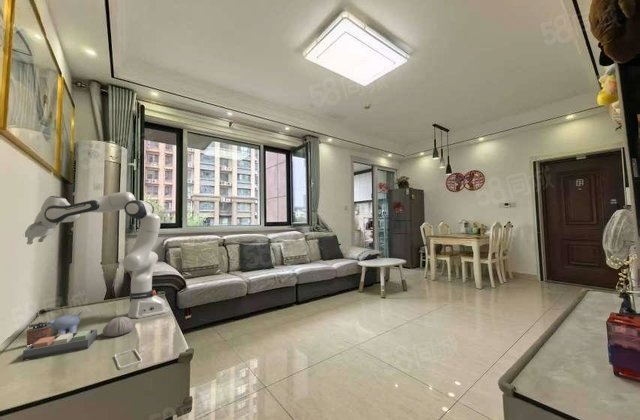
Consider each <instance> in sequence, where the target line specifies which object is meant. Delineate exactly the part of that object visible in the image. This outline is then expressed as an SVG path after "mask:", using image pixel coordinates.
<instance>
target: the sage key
mask: <svg viewBox="0 0 640 420" xmlns="http://www.w3.org/2000/svg"><path fill="white" fill-rule="evenodd" d="M91 330H92V329H91ZM91 330H85V331H82V332H79V331H77V332H78V333H77V334H76V335H75V336H74V337H73V341H79V340H84V339H87V337H88V336H89V335H90V334H91Z"/></svg>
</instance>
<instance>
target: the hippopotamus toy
mask: <svg viewBox="0 0 640 420" xmlns="http://www.w3.org/2000/svg"><path fill="white" fill-rule="evenodd" d="M82 313H83V310H81V311H80V312H79V313H78V314H65V315H62V316H59V317H57V318H55V319H51V320H49V321H48V324H47V325H51V329H50V330H52V329H57V334H56V335H55V336H57V335H61V334H70V333H74V332H77V329H78V328H79V326H78V325H79V324H80V322H81V318H80V316H81V315H82ZM44 326H45V325H44ZM67 329H68V330H67Z"/></svg>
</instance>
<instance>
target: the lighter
mask: <svg viewBox="0 0 640 420" xmlns="http://www.w3.org/2000/svg"><path fill="white" fill-rule="evenodd" d="M48 322H49V321H44V322H43V321H39V322H35V323H31V324H29V325H28V328H30V329H27V330H26V345H30V344H33V343H35V342H36V341H37V340H39V339H40V338H46V337H51V330H52V329H51V325H47V324H48ZM44 325H45V326H44Z"/></svg>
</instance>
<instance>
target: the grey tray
mask: <svg viewBox="0 0 640 420" xmlns="http://www.w3.org/2000/svg"><path fill="white" fill-rule="evenodd" d="M78 332H83V331H81V330H80V331H76V332H74V333H73V337H74V336H75V335H76V334H77V333H78ZM56 335H57V334H56ZM56 335H54V336H55V339H56V338H58V337H59V336H60V335H57V336H56ZM61 335H64V334H61ZM97 338H98V328H96V329H91V334H90V335H89V336H88V337H87V339H84V340H79V341H73V338H72V339H71V340H70V341H69V342H67V343H62V344H56V345H54V341H53V342H52V343H51V344H50V345H49V346H44V347H39V348H33V344H34V343H33V344H32V345H31V346H29V347H26V348H25V349H24V350H23V352H22V361H23V360H25V361H27V360H26V359H30V360H34V359H33V358H35V359H39V358H45V357H52V356H56V355H61V354H66V353H71V352H77V351H81V350H87V349H89V348H90V347H91V345H92V344H93V343H94V342H95V341H96V339H97ZM40 339H41V338H40ZM40 339H39V340H40ZM37 341H38V340H37ZM37 341H36V342H37ZM36 342H35V343H36Z"/></svg>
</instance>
